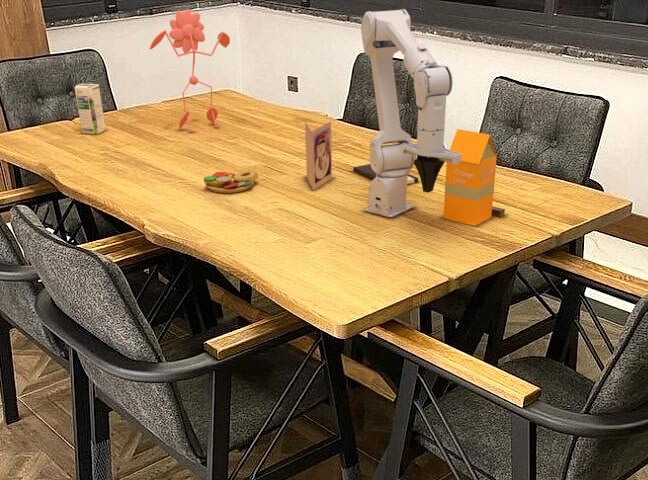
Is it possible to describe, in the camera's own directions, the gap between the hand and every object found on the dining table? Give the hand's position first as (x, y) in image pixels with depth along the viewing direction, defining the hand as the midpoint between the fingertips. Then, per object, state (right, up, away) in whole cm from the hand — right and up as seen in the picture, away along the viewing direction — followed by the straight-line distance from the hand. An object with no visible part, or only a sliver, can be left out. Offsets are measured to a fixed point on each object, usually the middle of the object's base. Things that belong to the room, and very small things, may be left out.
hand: (428, 191), depth 184 cm
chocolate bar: (-7, +15, +42) cm, 46 cm away
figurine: (-67, +46, +91) cm, 122 cm away
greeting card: (-26, +12, +39) cm, 48 cm away
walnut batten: (+15, 0, +18) cm, 23 cm away
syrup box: (-99, +42, +87) cm, 138 cm away
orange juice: (+11, -3, +14) cm, 18 cm away
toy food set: (-48, +11, +37) cm, 61 cm away
